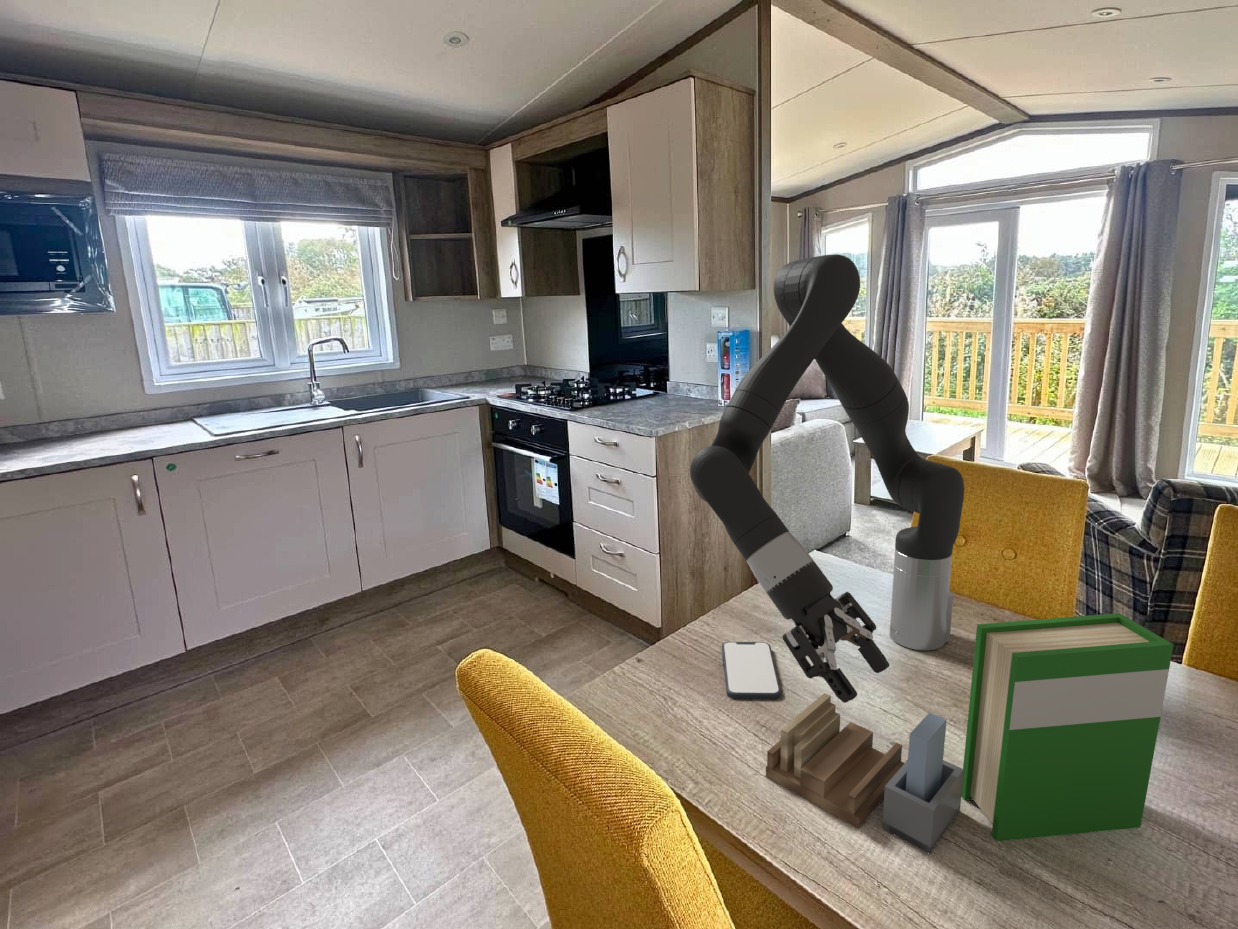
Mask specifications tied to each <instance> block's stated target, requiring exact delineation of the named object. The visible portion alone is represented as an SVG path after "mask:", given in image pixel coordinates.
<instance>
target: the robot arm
mask: <svg viewBox="0 0 1238 929" xmlns="http://www.w3.org/2000/svg"><path fill="white" fill-rule="evenodd" d="M860 290H861V277H860V271H859V269H858V267H857V266H856V264H855V263H854V261H853V260H852V259H851V258H849V257H847V256H846V255H842V254H835V253H834V254H824V255H819V256H817V255H816V256H814V257H812V256H811V257H807V258H803V259H798V260H793V261H791V262H788V263H786V264H784V265H783V266H781V268H780V269H779V270H778V271H777V273H776V275H775V277H774V282H773V294H774V295H773V296H774V299H775V303H776V306H777V308H778V310H779V312H780V314H781V315H782V317H783V318H784V320H785V322H787V324H788V325H789V327H788V328H787V330H786V332H784V334H783V335H782V336H781V337H780V339H779V340H778V341H777V342H776V343H775V344H774V345H773V346H772V347H771V348H770V349H769V350H768V351H767V352H766V353H765V354H764V355H763V356H761V358H760V359H758V360H757V361H756V362H755V363H754V365H753V366H752V367H750V369H749V370H748V371H747V372H746V374H744V376H743V377H742V378H741V380H740V381H739V383H738V385H737V387H736V388H735V390H734V392H733V394H732V396H731V398H730V399H729V402H728V403H727V405H726V407H725V409H724V411H723V412H722V415H721V417H720V420H719V423H718V428H717V429H718V431H717V433H716V435H715V437H714V439H713V441H712V443H711V444H710V446H706V447H704V448H702V449H701V450H699V451H698V452H696V454H695V455H694V457H693V459H692V461H691V463H690V467H689V468H690V469H689V476H690V480H691V482H692V483H691V484H692V486H693V488H694V489H695V492H696V493H697V495H698V496H699V498H701V499H702V501H705V502H706V503H707V504H708V505H709V507H710V508H711V509H712V511H713V512H714V513H715V514H716V516H717V517H718V519H719V520H720V522H722V524H723V525H724V528H725V530H726V533H727V535H728V536H729V538H730V539H731V541H732V543H733V544H734V546H735V548H737V550H738V552H739V553H740V554H741V556H742V557H743V559H744V560H745V561H746V562H747V565H748V566H749V567H750V570H751V571H752V574H753V575H754V577H755V578H756V580H757V582H758V583H759V585H760V586H761V587H762V589H763V590H764V592H765V593H766V594H767V596H768V597H769V599H770V600H771V601H772V603H773V604H774V606H775V607H776V609H777V610H778V611H779V613H780V615H782V617H783V618H784V619H785V620H791V621H793V623H794V625H795V626H794V627H793V628H791V629H790V630H788V631H786V632H785V633H783V634H782V640H783V642H784V644H785V645H786V646H787V648H788V649H789V651H790V653H791V654H792V656H793V658H794V659H795V660H796V663H798V665H799V667H800V668H801V670H802V671H803V674H804V675H805V676H806V677H807V678H808V679H811V680H812V679H814V678H816V677H819V678H823V679H824V681H825V682H826V683H827V685H828V686H829V688H830V689H831V690H832V692H833V694H834V695H835V696H836V697H837V699H839V700H840V701H841V702H842V703H843V704H846V703H848V702H850V701H852V700H854V699H856V698H857V696H858V692H857V691H856V688H854V686H853V684H852V683H851V682H850V680H849V679H848V677H847V676H846V675H845V674H844V672H843V670H842V669H841V667H838V665H837V660H836V654H835V652H836V650H837V646H836V644H837V643H838V642H840V641H843V642H844V641H847V642H849V643H850V644H852V645H853V646H856V647H858V649H857V651H859V653H860V655H861V656H862V657H863V658H864V660H865V661H866V663H867V664H868V665H869V668H871V670H872V671H873V672H874V673H876V674H879V673H882V672H883V671H885V670H887V669H888V668H889V667H890V663H889V661H888V660H887V658H886V656H885V655H884V654H883V652H882V651H881V649H880V648H879V647H878V646H877V645H878V644H876V643H875V641H874V640H873V639H874V635H873V633H874V631H876V630H877V625H876V623H875V622H874V621H873V620H872V618H871V617H870V616H869V615H868V614H867V612H866V611H865V610H864V609H863V607H862V606H861V604H860V603H859V602H858V601H857V600H856V598H855V597H854V596H853V595H852V593H850V592H849V591H845V592H844V593H841V594H840V595H839V596H837V597H836V598H834V597H833V595H832V594H831V592H832V591H833V589H834V586H833V584H832V583H831V582H830V580H829V579H828V577H827V576H826V575H825V574H824V573H823V571H822V569H821V568H820V566H818V564H817V563H816V562H815V560H814V559H813V558H812V557H811V555H810V554H809V552H808V551H807V550H806V548H805V547H804V546H803V545H802V543H801V542H800V541H799V540H798V539H797V538H796V537H795V536H794V535H793V534H792V532H791V531H790V530H789V529H788V528H787V526H786V525H785V523H784V522H783V521H782V519H781V518H780V517H779V515H778V514H777V513H776V511H775V510H774V509H773V508H772V506H770V505H769V503H768V502H767V500H766V499H765V498H764V497H763V495H762V492H761V491H760V490H759V487H758V486H757V484H756V483H755V481H754V479H753V478H752V476H751V474H750V472H751V470H752V468H753V465H754V463H755V460H756V459H757V455H758V454H759V451H760V449H761V448H762V447H761V446H762V445H763V443H764V442H765V440H766V438H767V437H768V436H769V433H770V432H771V430H772V428H773V426H774V424H775V423H776V421H777V419H778V416H779V415H780V413H781V411H782V410H783V407H784V405H785V404H786V402H787V400H788V399H789V397H790V396H791V393H793V390H794V389H795V387H796V385H797V384H798V383H799V381H800V379H801V378H802V377H803V375H804V374H805V373H806V371H807V369H809V367H810V366H811V364H812V363H813V361H814V360H815V362H816V364H817V366H819V368H820V371H821V372H822V373H823V375H824V377H825V378H826V380H827V382H828V383H829V384H830V386H831V388H832V390H833V391H834V393H835V395H836V397H837V399H838V401H839V402H840V405H841V406H842V407H843V410H844V411H845V413H846V415H847V416H848V418H849V419H850V421H851V423H852V424H853V425H854V427H855V428H856V430H857V432H858V434H859V435H860V437H861V439H862V441H863V443H864V444H865V447H867V450H868V451H869V453H870V455H871V456H872V458H873V460H874V462H875V465H876V467H877V469H878V471H879V474H880V477H881V478H882V480H883V484H884V485H885V489H886V490H887V493H888V494H889V495H890V498H891V499H892V500H893V502H895V504H896V505H898V506H900V507H901V508H904V509H906V510H908V511H911V512H914V513H915V514H916V513H917V514H919V516H918V521H917V522H918V523H917V525H916V526H912V527H911V526H910V527H905V528H902V529H901V530H899V531H898V532H897V533H896V536H895V541H894V542H895V545H894V561H893V574H892V575H893V577H892V578H893V579H892V594H891V605H890V606H891V608H890V610H891V611H890V624H889V636H890V638H891V640H893V641H894V642H895V643H897V644H898V645H900V646H902V647H905V648H908V649H913V650H916V651H935V650H938V649H941V648H942V647H944V646H945V644H946V643H949V642H950V640H951V632H952V631H951V630H952V619H953V605H954V596H955V595H954V592H953V591H951V590H950V585H951V575H952V574H951V571H952V560H953V551H954V550H953V549H954V545H955V543H956V541H957V538H958V536H959V532H960V525H961V518H962V512H963V506H964V498H965V481H964V478H963V476H962V473H961V472H960V470H958V469H956V468H955V467H953V466H949V465H947V464H942V463H939V462H935V461H931V460H928V459H924V458H923V457H921V456H920V455H919V454H918V453H917V451H916V450H915V448H914V447H913V445H912V443H911V442H910V440H909V439H908V436H907V432H906V430H907V429H906V427H907V424H908V420H909V411H910V405H909V400H908V397H907V394H906V392H905V389H904V388H903V386H902V384H901V382H900V380H899V378H898V377H897V375H896V373H895V372H894V370H893V368H892V366H890V365H889V364H890V363H888V362H887V361H886V360H885V359H884V358H883V357H881V356H880V355H879V354H878V353H877V352H876V351H874V350H873V349H872V348H870V347H869V346H868V345H867V344H865V343H863V341H861V340H860V339H858V338H857V337H856V336H855V335H854V334H852V333H851V331H849V330H848V329H847V328H846V327H845V325H844V324H843V322H844V321H845V319H846V318H847V317H848V315H849V313H850V312H851V311H852V309H853V308H854V306H855V304H856V302H857V299H858V297H859V294H860ZM857 619H860V621H861V622H862V623H863V625H862V624H860V623H861V622H859V621H858V620H857ZM807 657H808V658H809V660H810V662H811V663H812V665H811V663H810V662H809V660H808V659H807Z"/></svg>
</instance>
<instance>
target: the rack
mask: <svg viewBox="0 0 1238 929" xmlns="http://www.w3.org/2000/svg"><path fill="white" fill-rule="evenodd" d="M873 740H874V731H872V730H869V729H868V728H865V727H863V726H862V725H858V724H856V723H854V722H851V721H849V723H848V724H846V725H845V727H843V728H842V729H841V731H840V732H839V733H838V734H837V735H836V736H835V737H834V738H833V739H832V740H831V741H830V742H829V743H828V744H827V745H826V746H825V747H823V748H822V749H821V750H820V751H819V752H818V753H817V754H816V755H815V756H814V757H813V758H812V759H811V760H810V761H809V762H808V763H807V764H805V765H804V766H803V767H802V768H801V775H800V778H798V777H796V776H794V766H793V767H792V768H791V769H790V770H789V771H787V772H786V771H784V770H782V769H780V761H781V739H780V740H779V741H777V742H776V743H774V745H772V746H771V747H770V748H769V749H768V750H767V754H766V755H767V756H766V761H767V762H766V764H767V765H765V777H767V778H769V779H771V780H772V781H773V782H775V783H777V784H779V785H781V786H782V787H784V788H786V789H788V790H790V791H791V792H793V793H795V794H797V795H798V796H800V797H802V798H804V799H805V800H807V801H809V802H811V803H812V804H814V805H816V806H818V807H819V808H821V809H823V810H825V811H827V812H828V813H830V814H832V815H834V816H835V817H838V818H839V819H840V820H842V821H844V822H846V823H848V824H850V825H851V824H852V825H851V826H853V827H855V828H856V829H860V828H861V826H862V825H863V824H865V822H866V820H867V819H868V818H869V817H870V816H871V815H872V813H874V811H875V810H876V808H878V806H879V805H880V804H881V803H882V802H883V801H884V792H885V785H886V784H887V783H888V782H889V781H890V780H891V779H892V777H893V776H894V775H895V774H896V773H897V772H898V770H899V769H900V768H901V767H902V766H903V765H904V763H905V762H904V761H902V753H903V752H902V751H903V744H900V743H898V742H895V743H894V744H893V745H892V746H891V747H890V748H889V750H888V751H887V752H886V753H884V752H882V751H880V750H878V749H876V748H874V747H873V744H874V743H873Z"/></svg>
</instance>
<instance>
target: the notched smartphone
mask: <svg viewBox="0 0 1238 929" xmlns="http://www.w3.org/2000/svg"><path fill="white" fill-rule="evenodd" d="M721 653H722V654H721V657H722V658H721V659H722V667H723V672H724V673H723V674H724V683H725V691H726V696H727V697H729V698H730V699H733V700H771V701H772V700H773V701H775V700H778V699H780V698H781V696H782V689H781V686H780V681H779V678H778V673H777V669H776V663H775V659H774V656H773V651H772V647H771V645H770V644H769V643H768V642H765V641H726V642H723V644H722V645H721Z"/></svg>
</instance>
